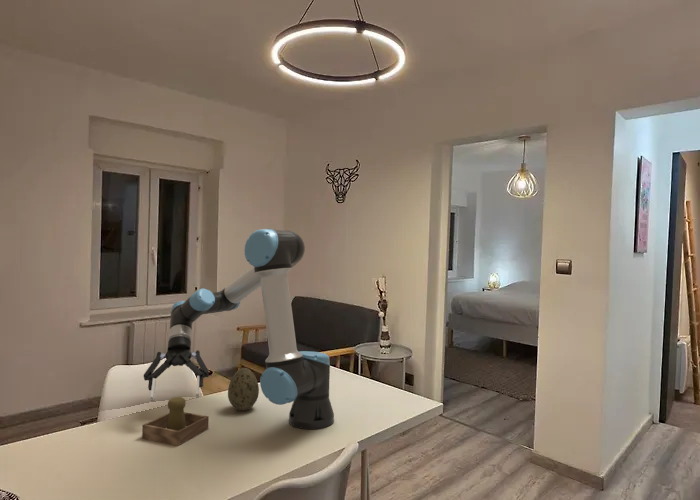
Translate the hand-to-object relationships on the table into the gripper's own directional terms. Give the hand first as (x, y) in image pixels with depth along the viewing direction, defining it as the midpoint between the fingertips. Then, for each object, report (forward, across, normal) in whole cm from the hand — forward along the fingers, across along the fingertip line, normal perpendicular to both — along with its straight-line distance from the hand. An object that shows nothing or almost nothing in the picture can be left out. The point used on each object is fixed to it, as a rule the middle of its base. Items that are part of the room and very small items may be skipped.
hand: (175, 397), depth 146 cm
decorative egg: (-1, -22, -15) cm, 27 cm away
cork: (+10, -1, -4) cm, 11 cm away
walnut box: (+10, -1, -3) cm, 11 cm away
